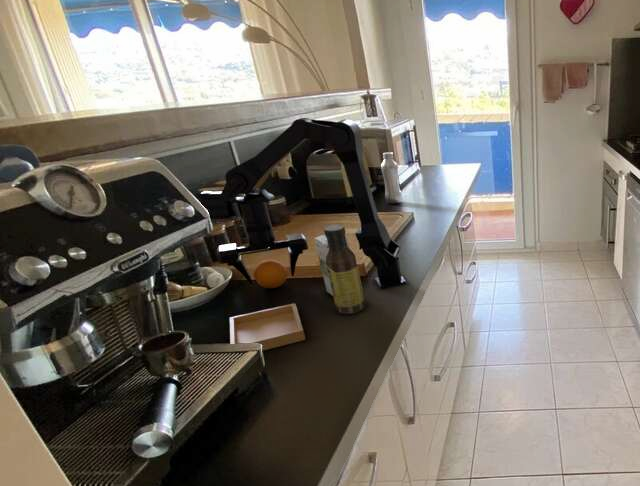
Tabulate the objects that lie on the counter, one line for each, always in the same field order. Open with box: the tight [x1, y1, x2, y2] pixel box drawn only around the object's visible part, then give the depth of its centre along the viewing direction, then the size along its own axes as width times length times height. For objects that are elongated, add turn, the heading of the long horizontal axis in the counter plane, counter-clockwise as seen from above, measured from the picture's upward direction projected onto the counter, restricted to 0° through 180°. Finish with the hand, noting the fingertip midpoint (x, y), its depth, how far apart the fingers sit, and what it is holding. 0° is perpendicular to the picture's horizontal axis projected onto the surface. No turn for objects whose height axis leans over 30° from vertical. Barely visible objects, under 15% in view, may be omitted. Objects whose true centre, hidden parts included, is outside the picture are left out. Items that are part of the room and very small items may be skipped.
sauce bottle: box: [323, 224, 365, 315], centre depth 98 cm, size 6×6×20 cm
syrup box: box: [313, 234, 350, 297], centre depth 107 cm, size 6×6×14 cm
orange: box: [253, 259, 288, 289], centre depth 111 cm, size 7×7×7 cm
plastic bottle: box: [380, 151, 403, 204], centre depth 180 cm, size 6×7×20 cm
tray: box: [229, 302, 306, 351], centre depth 93 cm, size 14×13×2 cm
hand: (272, 279), depth 112 cm, fingers open, 9 cm apart
